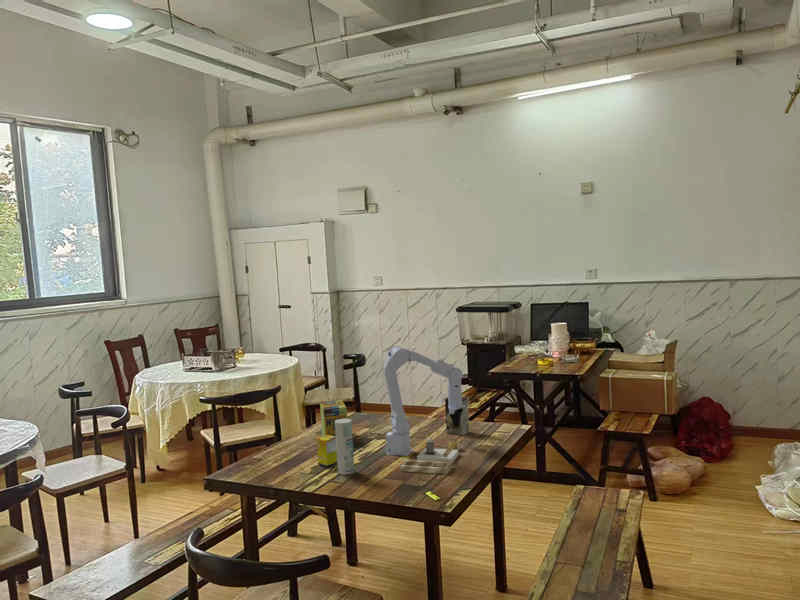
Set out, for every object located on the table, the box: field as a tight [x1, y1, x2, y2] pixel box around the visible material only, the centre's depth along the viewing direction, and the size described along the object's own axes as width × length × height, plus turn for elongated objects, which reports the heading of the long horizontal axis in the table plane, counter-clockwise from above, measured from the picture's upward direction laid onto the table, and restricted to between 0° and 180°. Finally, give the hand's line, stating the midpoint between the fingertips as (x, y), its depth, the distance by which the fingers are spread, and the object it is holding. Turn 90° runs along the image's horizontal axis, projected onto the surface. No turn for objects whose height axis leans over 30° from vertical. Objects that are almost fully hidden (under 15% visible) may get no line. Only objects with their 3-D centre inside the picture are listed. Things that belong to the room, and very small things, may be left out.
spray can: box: [335, 418, 355, 476], centre depth 236 cm, size 6×6×20 cm
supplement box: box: [316, 435, 338, 468], centre depth 247 cm, size 6×6×11 cm
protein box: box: [319, 399, 348, 437], centre depth 283 cm, size 10×15×16 cm
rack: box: [400, 459, 452, 475], centre depth 233 cm, size 18×7×2 cm, turn 71°
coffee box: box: [444, 396, 470, 436], centre depth 280 cm, size 9×6×16 cm
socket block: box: [416, 447, 459, 465], centre depth 245 cm, size 14×11×2 cm
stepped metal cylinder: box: [425, 438, 435, 455], centre depth 246 cm, size 3×3×8 cm
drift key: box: [445, 439, 459, 457], centre depth 250 cm, size 4×11×4 cm, turn 161°
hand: (456, 426), depth 260 cm, fingers closed
